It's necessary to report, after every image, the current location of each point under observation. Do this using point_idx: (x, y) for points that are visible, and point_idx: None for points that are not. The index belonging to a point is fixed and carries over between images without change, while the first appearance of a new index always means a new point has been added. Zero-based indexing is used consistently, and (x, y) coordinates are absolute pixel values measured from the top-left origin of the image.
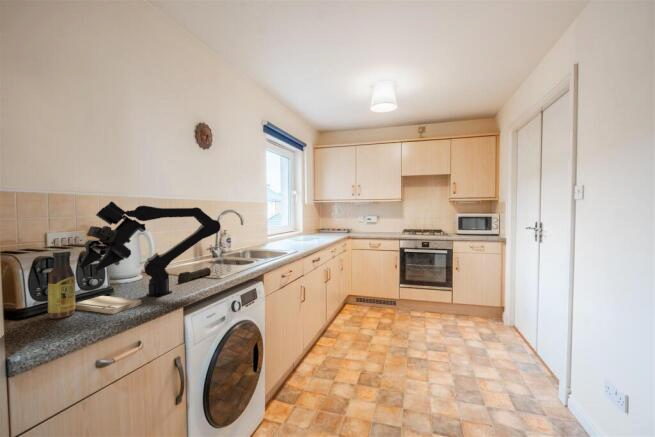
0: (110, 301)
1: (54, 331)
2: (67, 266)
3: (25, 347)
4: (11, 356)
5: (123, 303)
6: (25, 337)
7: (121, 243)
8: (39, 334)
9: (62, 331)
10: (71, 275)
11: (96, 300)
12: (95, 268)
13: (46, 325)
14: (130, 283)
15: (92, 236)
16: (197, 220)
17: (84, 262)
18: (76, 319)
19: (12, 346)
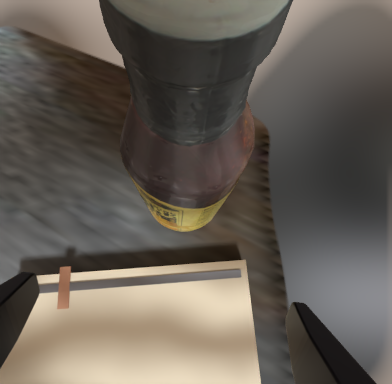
0: (124, 352)
1: (65, 121)
2: (130, 105)
3: (30, 53)
4: (11, 26)
5: (34, 352)
6: (95, 80)
7: None
8: (82, 99)
9: (42, 127)
10: (123, 154)
11: (202, 336)
12: (15, 278)
13: None
14: None
15: None
16: None
17: (312, 361)
18: (102, 196)
19: (66, 48)
